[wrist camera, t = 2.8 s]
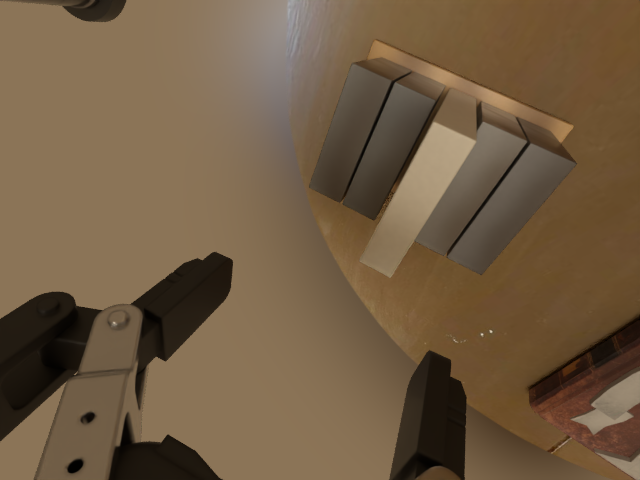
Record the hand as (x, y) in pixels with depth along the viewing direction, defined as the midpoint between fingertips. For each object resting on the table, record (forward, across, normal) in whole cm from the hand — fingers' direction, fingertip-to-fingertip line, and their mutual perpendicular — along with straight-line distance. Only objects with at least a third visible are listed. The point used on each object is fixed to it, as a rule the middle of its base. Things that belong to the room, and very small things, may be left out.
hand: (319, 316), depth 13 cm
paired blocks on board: (+26, -2, -1) cm, 26 cm away
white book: (+25, -2, -1) cm, 25 cm away
